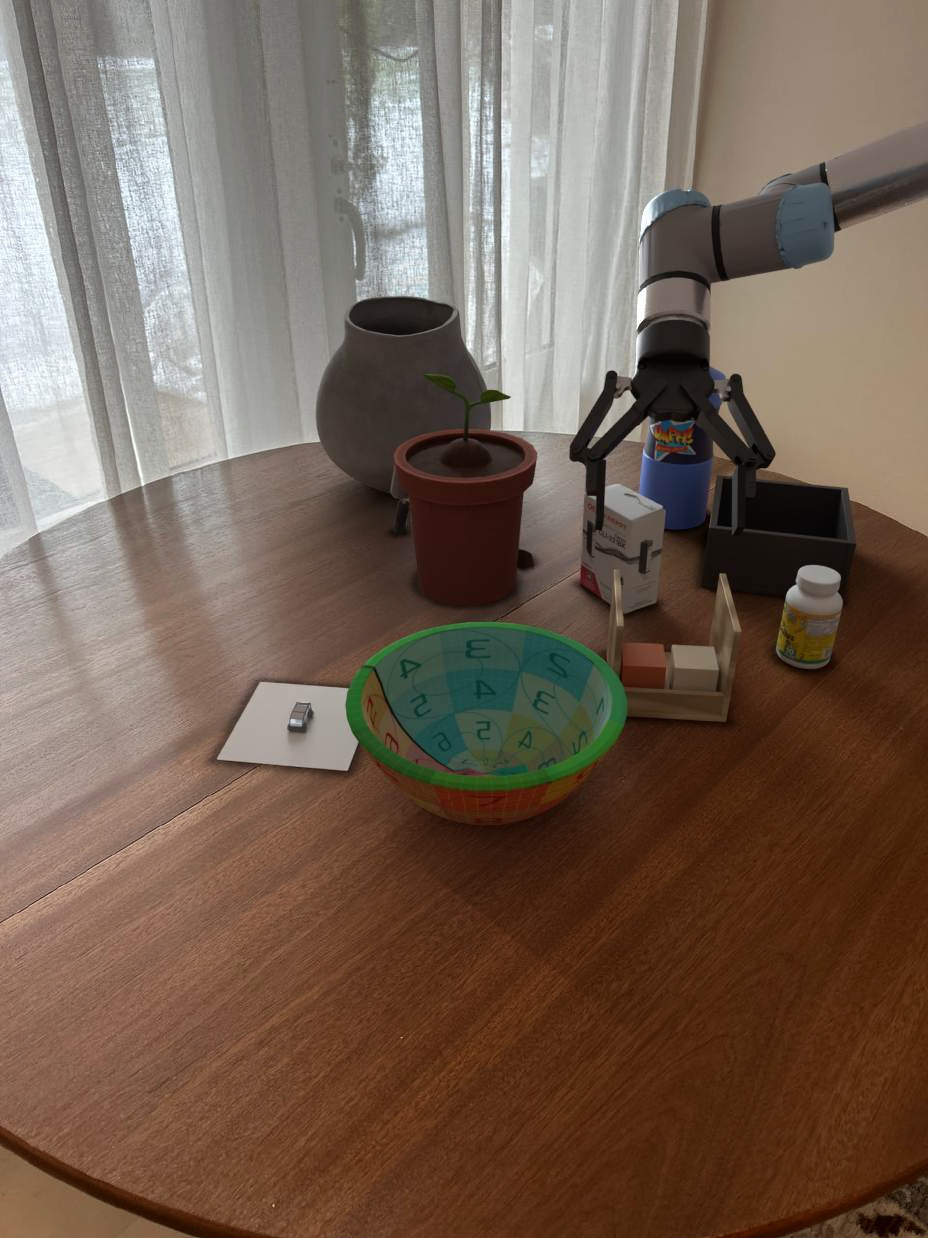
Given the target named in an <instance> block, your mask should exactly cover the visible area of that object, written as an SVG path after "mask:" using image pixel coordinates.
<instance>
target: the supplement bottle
mask: <svg viewBox="0 0 928 1238" xmlns="http://www.w3.org/2000/svg"><path fill="white" fill-rule="evenodd" d="M840 581H841V576H840V574H839V573H838V572H836V571H835V570H833V569H831V568H828V567H824V566H819V565H808V566H804V567H802V568H800V569H799V571H798V574H797V578H796V583H797V585H795V586H793V587H792V588H790V589H789V591H788V592H787V595H786V597H785V600H784V605H783V611H782V614H781V615H782V616H781V621H780V626H779V630H778V637H777V640H776V646H775V651H776V654H777V656H778V657H779V659H781V661H783V662H784V663H785V664H788V665H790V666H792V667H794V668H798V669H803V670H817V669H821V668H823V667H825V666H826V665H828V663H829V662H830V660H831V659H832V658H831V657H832V652H833V649H834V647H835V646H834V645H835V641H836V636H837V632H838V627H839V623H840V618H841V614H842V612H843V611H842V610H843V604H844V600H843V601H842V598H841V596H840V594H839V593H838V592H837V591H838V590H839V587H840Z"/></svg>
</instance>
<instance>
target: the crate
mask: <svg viewBox="0 0 928 1238" xmlns="http://www.w3.org/2000/svg"><path fill="white" fill-rule="evenodd" d="M609 609H610V611H609V622H608V634H607V645H606V663H607V664H608V665H609V666H610V667H611V668H612V669H613V671H614V672H615V673H616V674H617V676H618V678H619V674H620V663H621V653H622V642H624V632H625V631H624V629H625V623H624V613H623V606H622V593H621V579H620V570H619V569H614V572H613V584H612V596H611V604H610V608H609ZM711 621H712V622H711V628H710V634H709V641H708V647H714V650H715V654H716V659H717V663H718V668H719V674H718V680H717V686H716V692H706V691H687V690H669V685H668V671H669V663H670V655H671V651H664V653H665V660H666V675H665V683H664V689H650V688H631V687H624V691H625V694H626V698H627V717H629V718H630V717H631V718H649V719H666V720H667V719H668V720H683V721H684V720H685V721H702V722H720V723H726V722H727V718H728V712H729V709H730V708H729V706H730V701H731V696H732V690H733V684H734V678H735V673H736V668H737V667H736V666H737V661H738V655H739V651H740V650H739V649H740V643H741V637H742V631H743V630H742V628H741V625H740V620H739V617H738V612H737V610H736V605H735V603H734V598H733V595H732V590H730V587H729V584H728V580H727V576H726V574H720V575H719V581H718V588H716V595H715V602H714V608H713V615H712V620H711Z"/></svg>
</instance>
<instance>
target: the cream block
mask: <svg viewBox="0 0 928 1238" xmlns="http://www.w3.org/2000/svg"><path fill="white" fill-rule="evenodd" d="M670 652H671V655H670V663H669V671H668V685H669V690H687V691H706V692H716V686H717V680H718V674H719V668H718V663H717V659H716V654H715V650H714V647H709V645H706V646H704V645H685V644H671V648H670Z"/></svg>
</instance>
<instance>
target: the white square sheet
mask: <svg viewBox="0 0 928 1238" xmlns="http://www.w3.org/2000/svg"><path fill="white" fill-rule="evenodd" d="M348 689H349V687H336V686H321V685H309V684H308V685H307V684H295V683H281V682H269V681H268V682H267V681H259V684H258V685H257V687H256V689H255V690H254V692H253V694H252V696H251V697H250V699H249V701H248V703H247V705H246V706H245V708H244V710H243V712H242V714H241V715H240V717H239V719H238V720H237V722H236V723H235V726H234V728H233V729H232V731H231V733H230V735H229V736H228V738H227V740H226V742H225V743H224V746H223V747H222V749H221V751H220V753H219V754H218V756H217V758H216V760H217V761H230V762H241V763H250V764H264V765H276V766H285V767H298V768H308V769H309V768H310V769H320V770H321V769H322V770H332V771H333V770H334V771H342V772H343V771H344V772H348V771H349V768H350V766H351V763H352V762H353V761H352V760H353V758H354V755H355V752H356V751H357V747H358V745H359V742H358V741H357V739H356V738H355V736H354V735H353V733H352V731H351V728H350V726H349V723H348V721H347V715H346V706H345V704H346V698H347V692H348Z"/></svg>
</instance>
